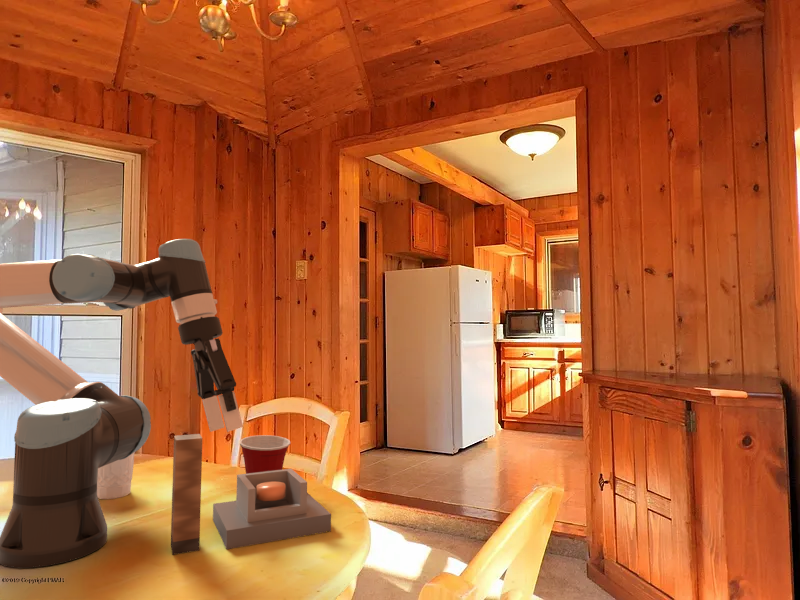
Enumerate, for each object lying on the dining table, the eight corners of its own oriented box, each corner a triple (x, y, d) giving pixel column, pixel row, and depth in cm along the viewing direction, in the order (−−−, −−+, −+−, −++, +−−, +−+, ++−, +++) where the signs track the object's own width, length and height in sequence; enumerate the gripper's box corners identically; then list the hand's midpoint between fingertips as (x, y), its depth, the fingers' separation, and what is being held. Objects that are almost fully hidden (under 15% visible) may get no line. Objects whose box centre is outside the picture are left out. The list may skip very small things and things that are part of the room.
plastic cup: (256, 507, 108) (258, 447, 109) (227, 496, 115) (229, 439, 116) (299, 495, 116) (300, 439, 117) (270, 485, 123) (271, 432, 124)
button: (259, 502, 95) (260, 491, 95) (253, 494, 100) (253, 483, 100) (288, 498, 97) (288, 487, 98) (281, 490, 102) (281, 480, 102)
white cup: (140, 489, 119) (142, 444, 120) (118, 501, 111) (120, 452, 112) (107, 488, 120) (109, 443, 121) (83, 499, 112) (85, 451, 113)
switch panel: (226, 549, 88) (227, 496, 88) (212, 519, 101) (214, 474, 101) (330, 531, 96) (331, 482, 96) (305, 506, 109) (306, 463, 110)
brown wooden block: (172, 554, 85) (176, 440, 86) (170, 545, 89) (174, 435, 90) (199, 550, 87) (202, 438, 88) (196, 541, 91) (199, 433, 92)
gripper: (234, 303, 93) (265, 422, 92) (204, 326, 114) (229, 423, 113) (189, 311, 89) (221, 436, 88) (167, 334, 110) (192, 435, 108)
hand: (225, 429), depth 100 cm, fingers open, 13 cm apart
